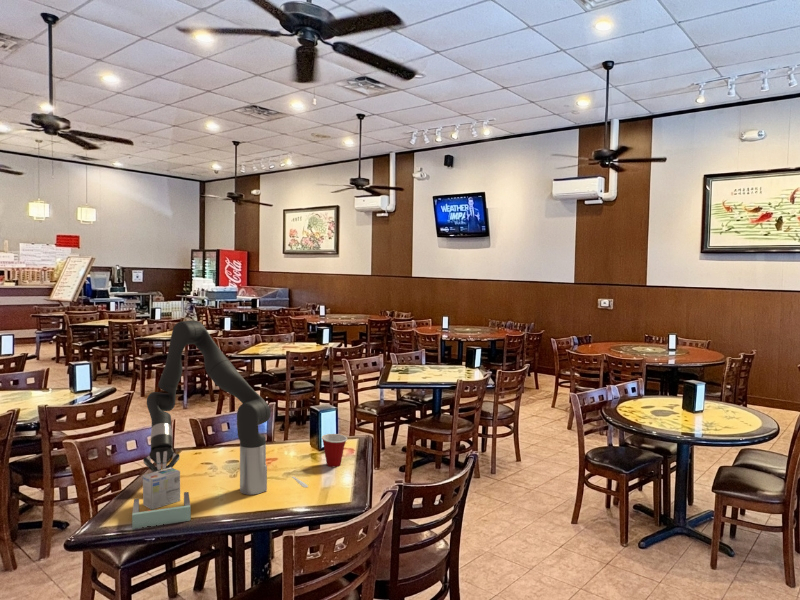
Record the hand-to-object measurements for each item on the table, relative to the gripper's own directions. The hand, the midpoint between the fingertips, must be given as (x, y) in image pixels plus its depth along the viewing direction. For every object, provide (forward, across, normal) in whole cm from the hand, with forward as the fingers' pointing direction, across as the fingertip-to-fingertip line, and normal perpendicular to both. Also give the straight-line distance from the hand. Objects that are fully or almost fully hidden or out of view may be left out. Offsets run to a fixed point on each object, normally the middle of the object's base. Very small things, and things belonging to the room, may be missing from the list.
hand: (161, 480), depth 202 cm
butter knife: (+4, +47, +4) cm, 48 cm away
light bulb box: (+10, 0, -2) cm, 10 cm away
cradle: (+17, 0, -10) cm, 20 cm away
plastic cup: (-2, +67, +9) cm, 68 cm away
